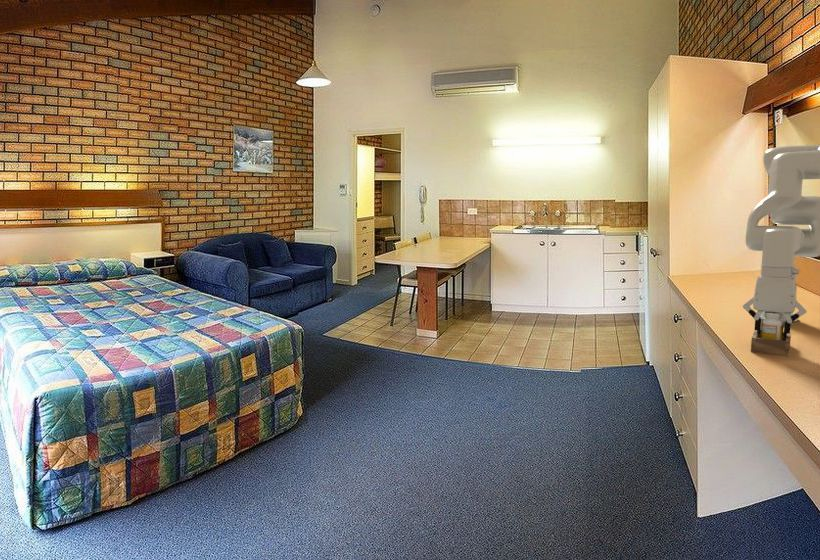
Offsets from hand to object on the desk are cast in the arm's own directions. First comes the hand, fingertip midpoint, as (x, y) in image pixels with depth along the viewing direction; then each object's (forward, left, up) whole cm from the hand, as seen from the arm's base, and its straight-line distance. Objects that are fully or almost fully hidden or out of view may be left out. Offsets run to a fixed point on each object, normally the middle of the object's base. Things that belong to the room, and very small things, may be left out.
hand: (771, 333), depth 160 cm
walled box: (0, 0, -4) cm, 4 cm away
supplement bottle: (0, 0, -4) cm, 4 cm away
